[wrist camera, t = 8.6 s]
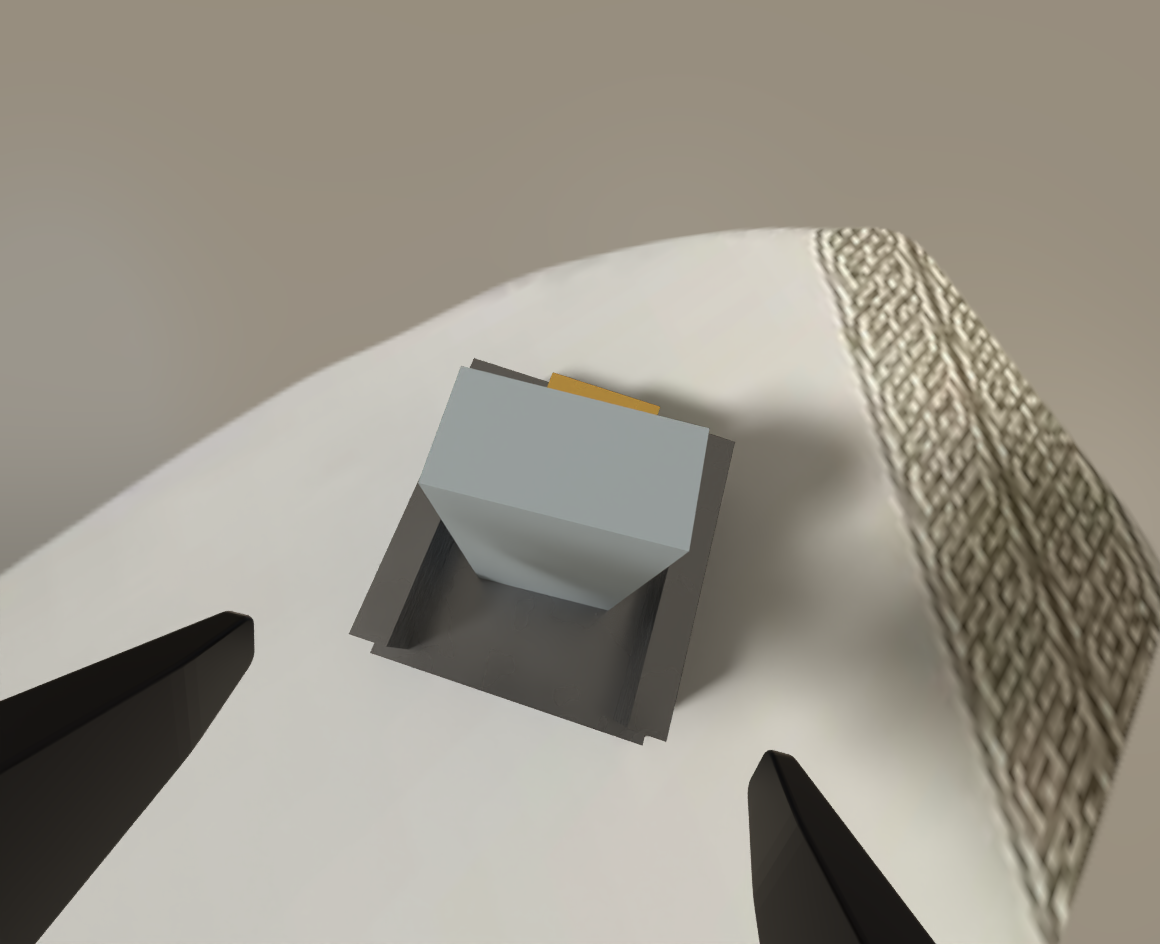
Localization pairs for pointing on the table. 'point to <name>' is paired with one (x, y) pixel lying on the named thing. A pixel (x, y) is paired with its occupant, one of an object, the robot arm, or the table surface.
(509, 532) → the block
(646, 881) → the table surface
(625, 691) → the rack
